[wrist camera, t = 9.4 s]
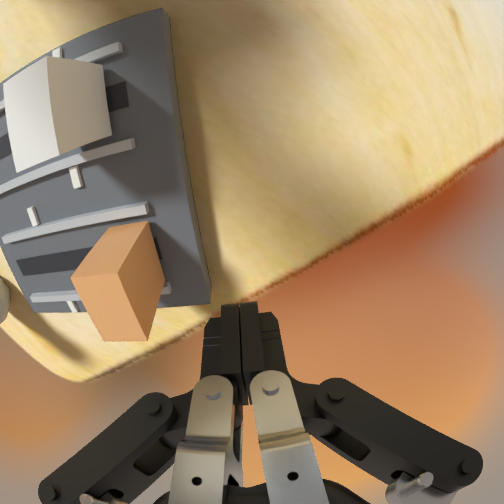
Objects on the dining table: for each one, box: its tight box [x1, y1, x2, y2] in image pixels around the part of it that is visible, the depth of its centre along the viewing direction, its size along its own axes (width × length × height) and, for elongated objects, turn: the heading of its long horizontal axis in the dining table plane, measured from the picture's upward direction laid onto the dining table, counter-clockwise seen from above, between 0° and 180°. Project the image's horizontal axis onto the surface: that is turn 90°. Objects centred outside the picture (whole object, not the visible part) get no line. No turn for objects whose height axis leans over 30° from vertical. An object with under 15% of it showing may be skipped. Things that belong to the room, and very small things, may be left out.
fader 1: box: [3, 56, 112, 173], centre depth 10 cm, size 4×3×6 cm, turn 5°
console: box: [0, 8, 211, 313], centre depth 15 cm, size 20×18×3 cm
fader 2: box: [71, 221, 165, 341], centre depth 15 cm, size 4×3×6 cm, turn 5°
